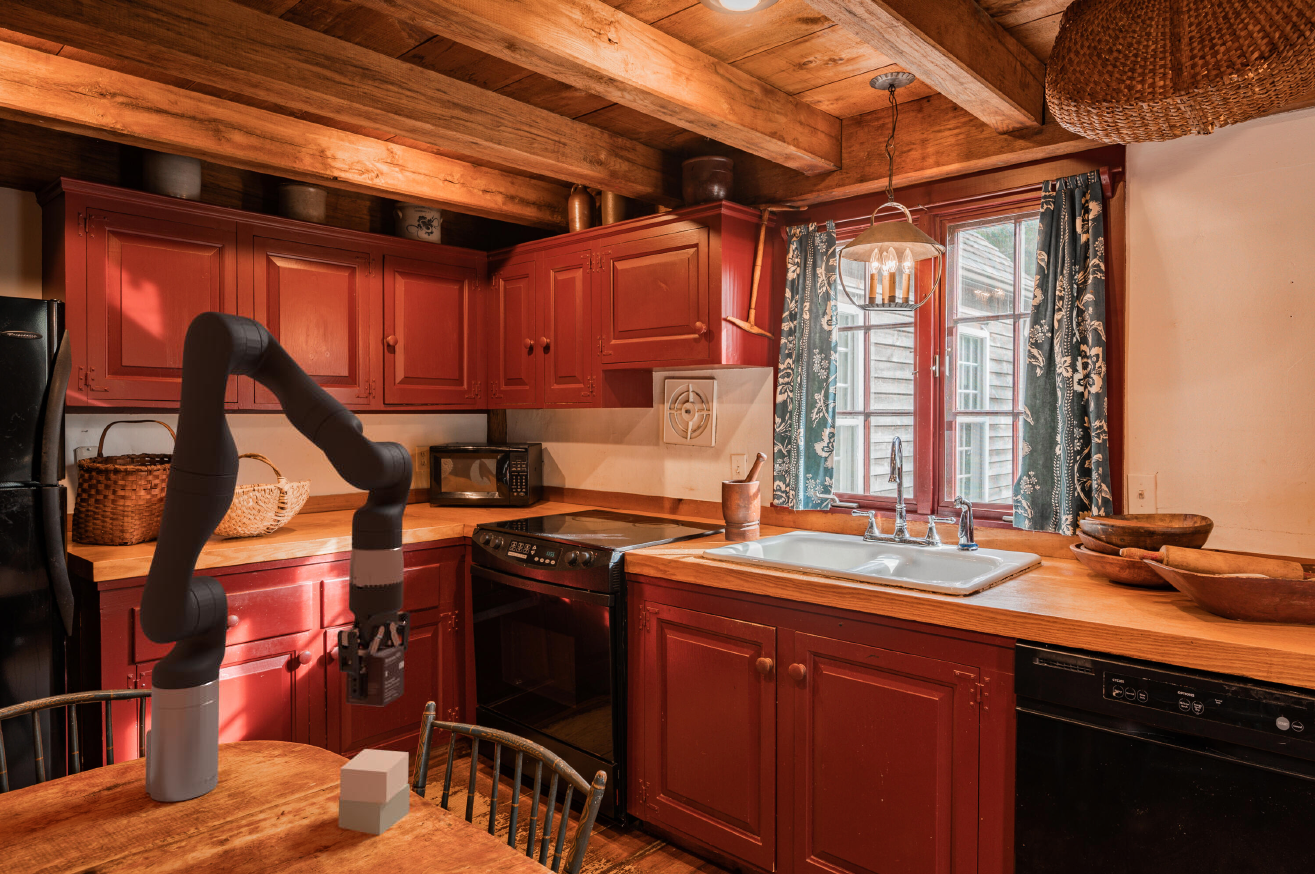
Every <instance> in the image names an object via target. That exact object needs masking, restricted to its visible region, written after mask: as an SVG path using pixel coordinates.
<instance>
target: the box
mask: <svg viewBox="0 0 1315 874" xmlns="http://www.w3.org/2000/svg"><path fill="white" fill-rule="evenodd" d="M359 650H363V651H366V650H368V649H363V648H362V647H361V646H360V649H359ZM404 653H405V652H404V646H396V647H390V646H380V647H379V648H378V649H377V651H376V654H375V656H373V657H372V658H371V659H370V663H369V666H368V670H367V672H366V673H368V691H367V698H366V699H364V700H356V699H353V698H352V697H351V693H350V690H351V675H350V673H349V672H346V673H345V674H346V675H345V676H346V681H345V682H346V683H345V703H346V704H349V705H359V706H368V707H369V706H370V707H378V708H381V707H382V708H383V707H386V706H387V705H389V704H390V703H392V702H393V701H395V700H397V699H398V698H400V697H401V696H403V695H404V692H405V691H404V689H405V688H404V685H405V684H404V683H405V677H404V676H405V674H404V673H405V672H404V671H405V667H404V665H405V660H404V659H405V658H404V657H405V655H404ZM362 659H363V657H362V656H359V665H361V663H362ZM347 663H350V658H349V657H347Z"/></svg>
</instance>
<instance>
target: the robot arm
mask: <svg viewBox="0 0 1315 874" xmlns="http://www.w3.org/2000/svg"><path fill="white" fill-rule="evenodd" d="M184 337H185V338H184V342H183V351H182V362H181V364H182V366H181V388H180V403H179V409H178V417H177V424H176V431H175V432H176V433H175V439H174V446H173V451H172V455H171V460H170V466H169V471H168V475H167V481H166V482H167V483H166V490H165V497H164V504H163V509H162V515H161V520H160V525H159V531H158V536H157V540H156V544H155V549H154V553H153V555H152V556H153V557H152V560H151V563H150V566H149V571H148V572H147V573H148V574H147V577H146V580H145V584H144V588H143V590H142V596H141V599H140V603H139V624H140V627H141V628H140V629H141V630H142V633H143V635H144V636H145V637H146V638H147V639H148V640H149V641H150V642H151V643H154V644H158V645H161V644H162V645H164V644H170V643H171V644H172V643H175V642H176V643H175V644H174V646H173V647H172V649H171V650H170V651H169V652H168V653H167V654H166V655H165V656H164V657H162V658H161V659H160V660H159V661H157V663H155V664H154V666H153V668H152V670H151V696H150V697H151V699H150V700H151V702H150V703H151V707H150V708H151V709H150V713H151V714H150V729H148V731H146V733H145V781H144V782H145V786H144V788H145V790H144V792H145V793H148V794H149V796H150V797H151V799H153V800H155V801H159V802H179V801H186V800H190V799H193V798H197V797H200V796H203V795H204V794H207V793H210V792H211V791H213V789H215V788H216V787H217V786H218V783H219V740H220V739H219V737H220V735H219V733H220V732H219V728H220V726H219V724H220V719H219V718H220V712H219V711H220V669H221V667H222V666H221V665H222V663H223V661H224V658H225V655H226V645H227V633H228V632H227V631H228V630H227V629H228V618H229V609H228V607H229V605H228V603H229V602H228V598H227V594H226V591H225V588H224V587H223V585H222V584H221V582H220V581H219V580H217V578H215V577H213V576H211V575H210V576H209V575H197V576H196V575H195V576H194V574H195V568H196V564H197V562H198V560H199V559H198V558H199V556H200V555H201V552H202V551H203V549H204V547H205V546H206V544H207V542H208V541H209V539H210V538H211V537H212V535H213V534H214V533H215V531H216V530H217V528H218V527H219V526H220V524H221V523H222V521H223V520H224V519H225V516H226V515H227V513H228V511H229V509H230V508H231V507H232V506H231V505H232V503H233V500H234V497H235V492H236V486H237V482H238V481H237V480H238V474H239V468H240V456H239V451H238V448H237V445H236V442H235V439H234V436H233V434H232V431H231V428H230V426H229V423H228V420H227V416H226V409H225V404H226V403H225V402H226V392H227V385H228V382H229V381H228V380H229V377H230V375H232V376H245V377H248V378H249V379H251V380H253V381H256V382H257V383H259V384H260V385H262V386H263V387H264V388H267V390H268V391H270V392H271V393H272V394H273V395H274V397H275V398H276V399H277V400H278V402H279V405H280V407H281V410H282V412H283V413H284V416H285V417H286V419H287V420H288V421H289V423H290V424H291V425H292V426H293V428H295V429H296V430H297V431H298V432H299V433H300V434H302V436H304V437H305V438H306V439H307V440H308V441H310V442H311V443H312V444H313V445H314V446H316V447H317V448H318V449H320V450H321V451H323V453H324V455H325V456H326V458H327V460H328V461H329V463H330V464H331V465H332V467H333V468H334V470H335V471H336V472H337V474H338V475H339V476H340V478H341V479H343V480H344V481H345V482H346V483H347V484H348V485H351V486H352V487H354V488H356V489H358V490H361V491H366V492H368V493H367V498H366V502H365V504H364V505H362V506H361V507H359V508H357V509H356V510H355V511H354V513H353V514H352V518H351V519H352V522H351V552H350V559H349V572H348V573H349V575H348V576H349V577H348V581H349V582H348V590H349V591H348V610H349V612H351V613H352V614H353V616H354V620H353V624H352V627H351V628H349V629H346V630H345V629H340V630H338V632H337V634H336V635H337V652H338V653H337V655H338V670H339V673H340V672H341V673H347V672H349V673H350V675H351V690H350V693H351V697H352V698H353V699H356V700H364V699H366V698H367V691H368V673H366V672H367V670H368V666H369V663H370V659H371V658H372V657H373V656H375V654H376V651H377V649H378V648H379V647H380V646H390V647H396V646H404V653H406V652H407V651H408V650H409V649H408V648H409V638H410V627H411V613H410V612H409V611H408V612H407V611H400V610H401V609H402V608H403V606H404V574H405V573H404V571H405V569H404V568H405V567H404V566H405V564H404V562H405V561H404V553H403V527H404V526H403V517H404V515H405V510H406V507H407V504H408V500H409V496H410V492H411V488H412V482H413V477H414V476H413V475H414V473H413V472H414V467H413V466H414V465H413V460H412V457H411V454H410V452H409V451H408V450H407V449H408V448H406V447H404V445H403V444H401V443H399V442H397V441H373V440H370V439H369V438H367V437H366V436H365V435H364V434H363V433H364V425H363V423H362V421H361V420H360V419H359V417H357V415H355V414H354V413H353V412H352V411H351V410H350V409H348V408H347V407H346V406H345V405H343V404H342V403H341V402H340V401H339V400H338V399H336V398H335V397H334V396H333V395H331V394H330V393H329V392H327V390H325V389H324V388H322V387H321V385H319V384H318V383H317V382H316V381H315V380H314V379H313V378H311V376H309V374H308V373H307V372H306V371H304V369H303V368H302V367H301V366H300V365H299V364H298V363H297V362H296V361H295V360H294V358H293V357H292V356H291V355H290V354H289V353H288V351H286V349H285V348H284V347H283V345H281V344H280V342H279V341H278V340H277V338H276V337H275V336H274V335H273V334H272V333H271V332H270V331H269V330H268V329H267V327H265V326H264V325H263V324H262V323H261V322H259V321H257V320H255V319H253V318H250V317H247V316H242V315H236V314H230V313H225V312H220V311H219V312H218V311H203V312H201V313H199V314H197V315H196V316H195V317H194V318H193V319H192V321H191V322H190V324H189V325H188V327H187V330H186V333H185V336H184ZM399 636H401V641H400V639H399ZM361 647H362V648H363V649H368V650H366V651H363V650H359V649H360V648H361ZM359 656H362V657H363V659H362V663H361V665H359ZM347 657H349V658H350V663H347Z"/></svg>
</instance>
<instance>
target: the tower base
mask: <svg viewBox="0 0 1315 874" xmlns="http://www.w3.org/2000/svg"><path fill="white" fill-rule="evenodd" d="M410 791H411V790H410V783H407V784H406V785H405V786H404V787H403V788H401V789H400V790H399V791H398V792H397V793H396V794H395V795H394V796H393V797H392V798H391V799H390V800H389V801H388V802H387V803H386V804H385V803H373V802H362V801H351V800H340V796H339V797H338V828H342V829H347V830H352V831H357V832H362V833H366V834H372V835H377V836H381V835H383V833H385V832H387V830H389V829H390V828H392V827H393V826H394V825H395V824H397V823H398V822H399V821H400V820H402V819H403V818H405V817H406V816H407V815H408V814H410Z"/></svg>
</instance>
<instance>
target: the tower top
mask: <svg viewBox="0 0 1315 874" xmlns="http://www.w3.org/2000/svg"><path fill="white" fill-rule="evenodd" d="M339 772H340V774H339V775H340V776H339V777H340V780H339V782H340V783H339V785H340V786H339V797H340V800H351V801H362V802H373V803H385V804H386V803H387V802H388V801H389V800H390V799H391V798H392V797H393V796H394V795H395V794H396V793H397V792H398V791H399V790H400V789H401V788H403V787H404V786H405V785H406V784H409V783H408V782H409V752H408V751H407V752H406V751H394V750H384V749H383V750H382V749H370V748H369V749H368V748H364V749H363V750H362V751H360V752H359V753H358V754H357V755H355V756H354V757H353V758H352V759H350V760H349V761H347V763H346V764H344V765H343V766H341V767H340V771H339Z"/></svg>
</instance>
